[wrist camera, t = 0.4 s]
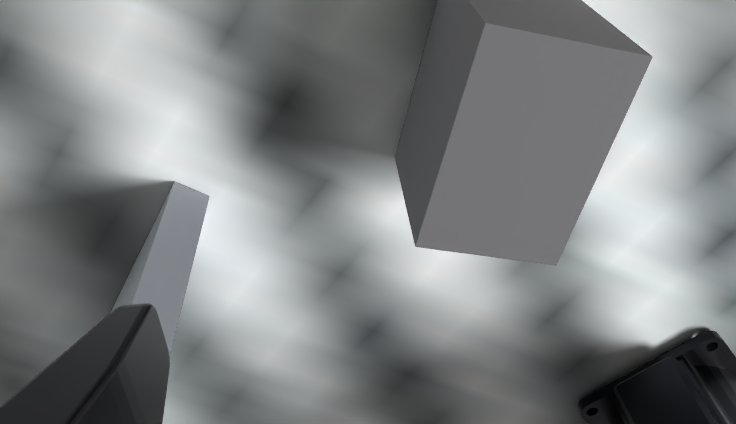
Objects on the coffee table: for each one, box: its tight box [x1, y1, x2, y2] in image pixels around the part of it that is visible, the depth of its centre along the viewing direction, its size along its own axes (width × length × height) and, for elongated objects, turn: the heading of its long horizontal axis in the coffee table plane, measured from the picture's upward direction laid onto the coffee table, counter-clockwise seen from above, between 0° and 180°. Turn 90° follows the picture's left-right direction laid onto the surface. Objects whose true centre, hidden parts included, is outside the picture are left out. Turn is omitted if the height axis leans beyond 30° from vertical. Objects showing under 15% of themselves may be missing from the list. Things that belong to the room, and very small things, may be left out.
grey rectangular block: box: [395, 0, 652, 266], centre depth 18 cm, size 6×4×5 cm, turn 168°
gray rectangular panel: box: [110, 182, 209, 353], centre depth 21 cm, size 13×1×8 cm, turn 150°
